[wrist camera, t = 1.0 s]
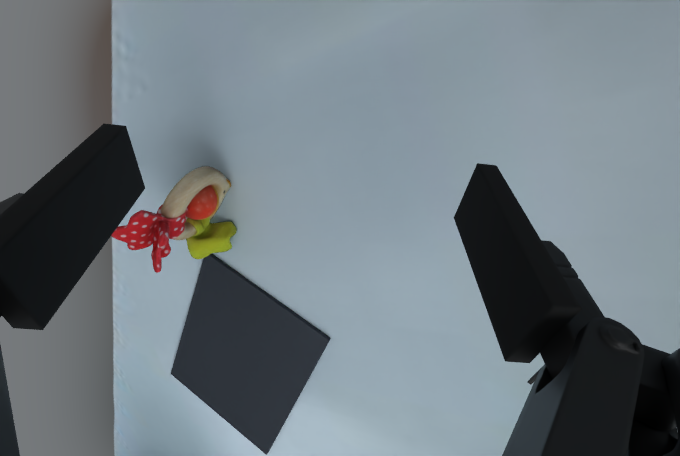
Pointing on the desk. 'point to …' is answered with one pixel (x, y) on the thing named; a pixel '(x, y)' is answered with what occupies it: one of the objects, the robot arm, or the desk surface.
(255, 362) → the mat
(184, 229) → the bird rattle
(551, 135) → the desk surface
